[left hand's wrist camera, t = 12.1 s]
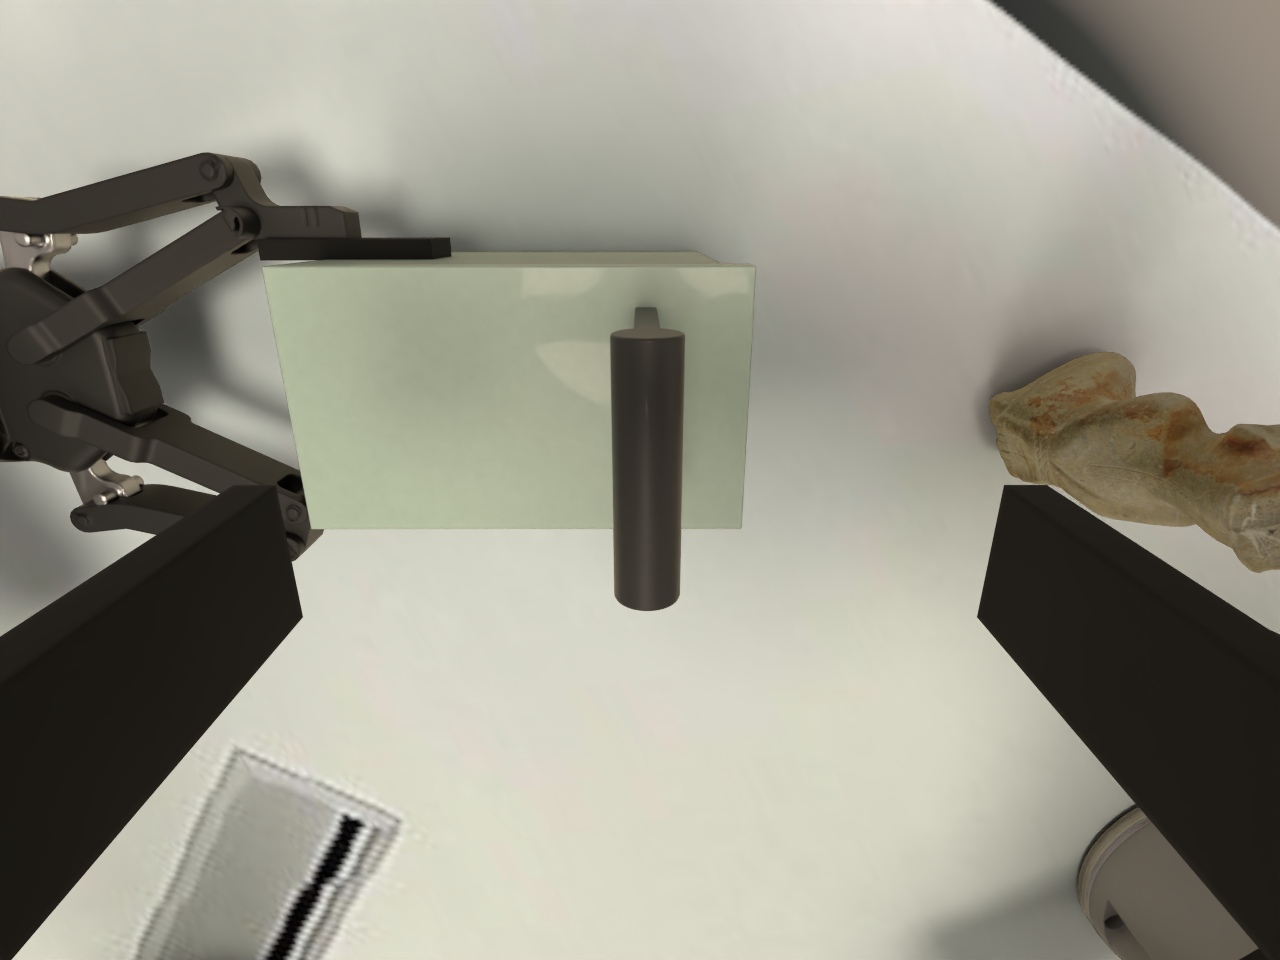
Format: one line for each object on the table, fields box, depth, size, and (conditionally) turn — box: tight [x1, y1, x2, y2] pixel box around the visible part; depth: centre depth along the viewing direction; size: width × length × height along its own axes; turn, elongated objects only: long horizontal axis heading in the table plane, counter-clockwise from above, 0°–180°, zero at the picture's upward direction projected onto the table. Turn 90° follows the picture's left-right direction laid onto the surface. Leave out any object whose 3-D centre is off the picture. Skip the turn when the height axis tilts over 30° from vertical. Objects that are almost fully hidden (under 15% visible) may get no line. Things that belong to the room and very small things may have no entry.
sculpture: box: [989, 352, 1280, 573], centre depth 28 cm, size 6×7×15 cm
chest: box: [283, 251, 721, 265], centre depth 29 cm, size 15×9×11 cm, turn 90°
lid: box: [262, 264, 756, 611], centre depth 20 cm, size 16×9×9 cm, turn 90°
